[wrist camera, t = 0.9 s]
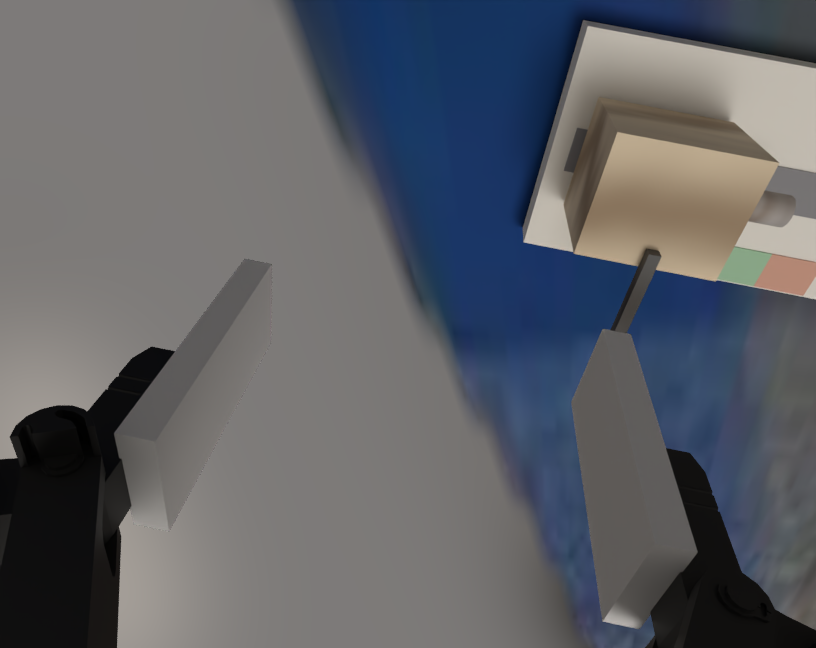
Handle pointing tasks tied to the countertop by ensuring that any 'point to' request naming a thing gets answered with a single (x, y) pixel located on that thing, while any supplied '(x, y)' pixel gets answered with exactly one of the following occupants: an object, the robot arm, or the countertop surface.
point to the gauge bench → (704, 96)
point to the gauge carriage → (667, 193)
